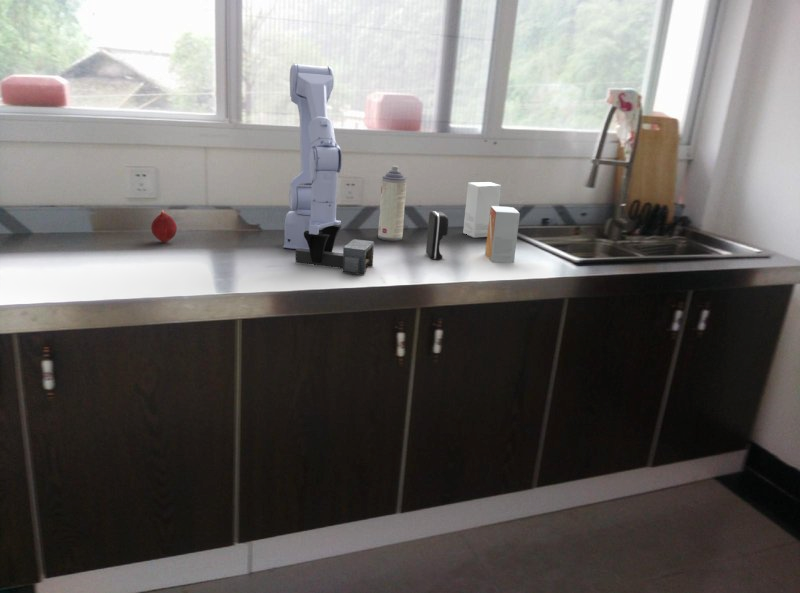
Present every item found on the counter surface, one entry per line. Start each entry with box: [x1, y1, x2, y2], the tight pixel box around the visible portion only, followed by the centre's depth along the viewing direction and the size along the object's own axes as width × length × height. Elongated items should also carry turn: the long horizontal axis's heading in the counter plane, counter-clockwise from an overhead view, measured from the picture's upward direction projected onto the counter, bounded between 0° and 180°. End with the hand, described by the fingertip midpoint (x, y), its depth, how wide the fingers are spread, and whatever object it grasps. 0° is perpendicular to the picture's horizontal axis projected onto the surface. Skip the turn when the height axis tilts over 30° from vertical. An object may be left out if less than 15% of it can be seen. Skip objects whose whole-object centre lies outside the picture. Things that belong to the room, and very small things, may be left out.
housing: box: [341, 238, 375, 276], centre depth 146 cm, size 5×11×6 cm, turn 169°
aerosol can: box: [377, 165, 407, 242], centre depth 178 cm, size 7×7×20 cm
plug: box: [295, 248, 369, 269], centre depth 149 cm, size 17×4×4 cm, turn 79°
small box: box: [484, 205, 521, 264], centre depth 166 cm, size 8×6×13 cm
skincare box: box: [462, 181, 502, 238], centre depth 191 cm, size 8×7×16 cm
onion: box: [150, 209, 178, 244], centre depth 157 cm, size 6×6×8 cm
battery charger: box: [425, 210, 449, 260], centre depth 163 cm, size 7×4×11 cm, turn 11°
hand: (321, 258), depth 149 cm, fingers open, 7 cm apart
